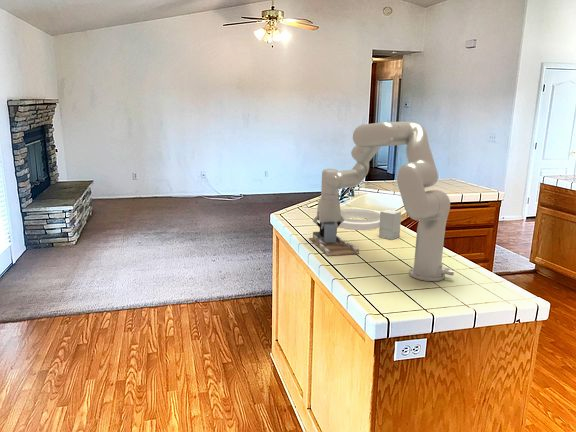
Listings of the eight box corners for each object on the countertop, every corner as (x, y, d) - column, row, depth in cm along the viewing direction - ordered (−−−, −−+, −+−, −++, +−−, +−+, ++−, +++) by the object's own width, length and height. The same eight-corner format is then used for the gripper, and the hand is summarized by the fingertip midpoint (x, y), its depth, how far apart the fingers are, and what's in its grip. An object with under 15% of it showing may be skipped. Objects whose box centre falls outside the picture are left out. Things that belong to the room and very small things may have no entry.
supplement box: (399, 237, 217) (402, 211, 214) (391, 240, 211) (393, 213, 208) (386, 234, 221) (388, 208, 219) (378, 237, 216) (379, 211, 213)
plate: (392, 226, 238) (393, 216, 237) (354, 233, 223) (354, 222, 222) (357, 215, 260) (357, 206, 258) (320, 221, 245) (320, 211, 243)
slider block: (336, 242, 203) (336, 225, 202) (325, 242, 202) (326, 225, 200) (330, 237, 211) (330, 220, 209) (319, 238, 210) (320, 221, 208)
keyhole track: (359, 254, 190) (359, 246, 189) (327, 256, 186) (327, 248, 186) (337, 237, 214) (337, 230, 213) (308, 238, 211) (309, 231, 210)
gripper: (344, 194, 208) (342, 233, 212) (308, 195, 203) (307, 235, 208) (350, 197, 200) (348, 237, 205) (313, 199, 196) (312, 239, 200)
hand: (328, 235), depth 206 cm, fingers closed on slider block, 5 cm apart
